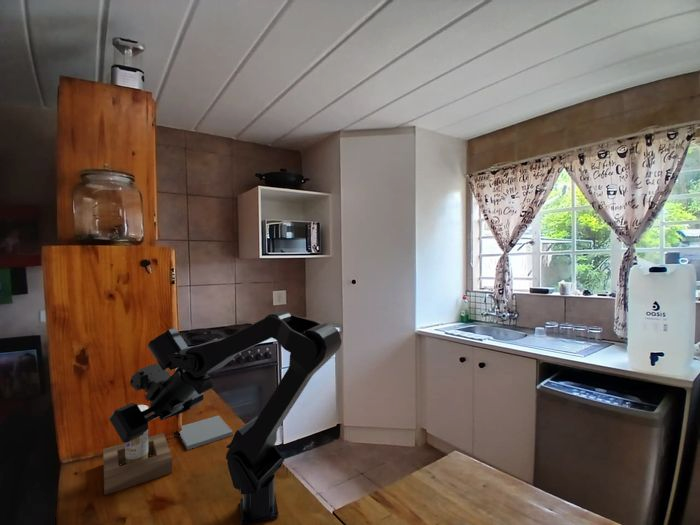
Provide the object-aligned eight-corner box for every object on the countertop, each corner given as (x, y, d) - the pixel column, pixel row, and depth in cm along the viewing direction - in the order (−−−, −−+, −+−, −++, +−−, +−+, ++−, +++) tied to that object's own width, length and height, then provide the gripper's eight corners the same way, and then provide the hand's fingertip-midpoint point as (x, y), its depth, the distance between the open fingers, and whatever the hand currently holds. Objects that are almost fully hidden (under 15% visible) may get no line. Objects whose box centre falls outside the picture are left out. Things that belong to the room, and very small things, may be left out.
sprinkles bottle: (119, 473, 75) (118, 412, 75) (136, 461, 80) (135, 403, 79) (138, 476, 74) (137, 414, 74) (154, 463, 79) (153, 405, 78)
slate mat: (232, 435, 91) (232, 431, 91) (187, 450, 84) (187, 446, 84) (218, 418, 99) (218, 415, 99) (176, 431, 93) (176, 427, 93)
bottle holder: (172, 472, 76) (172, 457, 75) (104, 495, 69) (104, 477, 68) (163, 446, 85) (163, 432, 85) (103, 464, 78) (103, 448, 78)
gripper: (194, 344, 82) (159, 382, 86) (115, 369, 65) (77, 416, 69) (220, 382, 79) (184, 420, 84) (146, 419, 62) (105, 464, 67)
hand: (141, 428), depth 76 cm, fingers open, 9 cm apart
